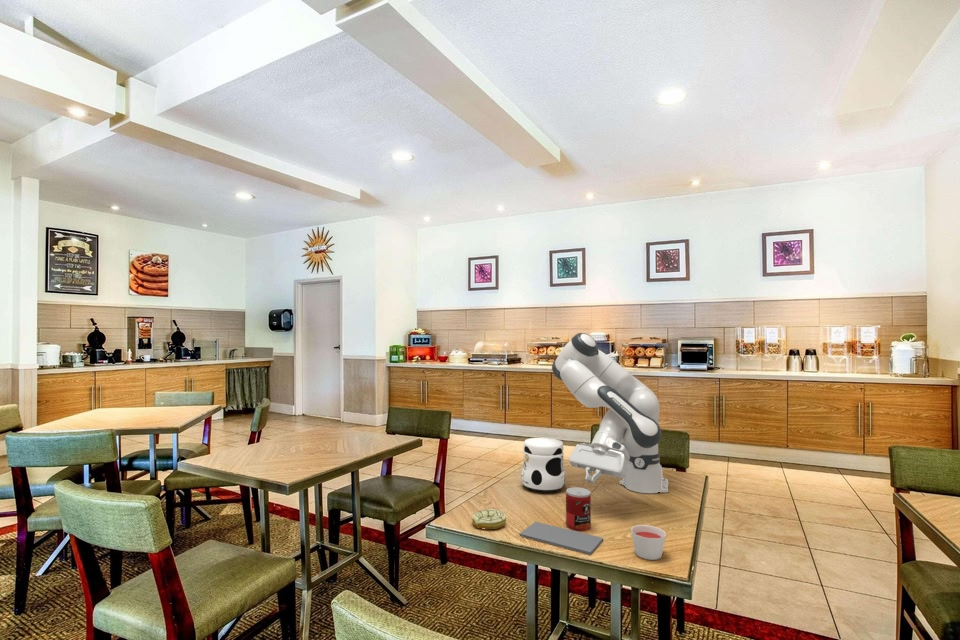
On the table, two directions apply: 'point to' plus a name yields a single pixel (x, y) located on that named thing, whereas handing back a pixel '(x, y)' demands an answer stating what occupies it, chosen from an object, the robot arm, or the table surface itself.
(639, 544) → the candle
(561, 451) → the milk container
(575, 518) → the canned food
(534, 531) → the mat
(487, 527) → the decorated donut
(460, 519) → the table surface
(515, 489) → the table surface
